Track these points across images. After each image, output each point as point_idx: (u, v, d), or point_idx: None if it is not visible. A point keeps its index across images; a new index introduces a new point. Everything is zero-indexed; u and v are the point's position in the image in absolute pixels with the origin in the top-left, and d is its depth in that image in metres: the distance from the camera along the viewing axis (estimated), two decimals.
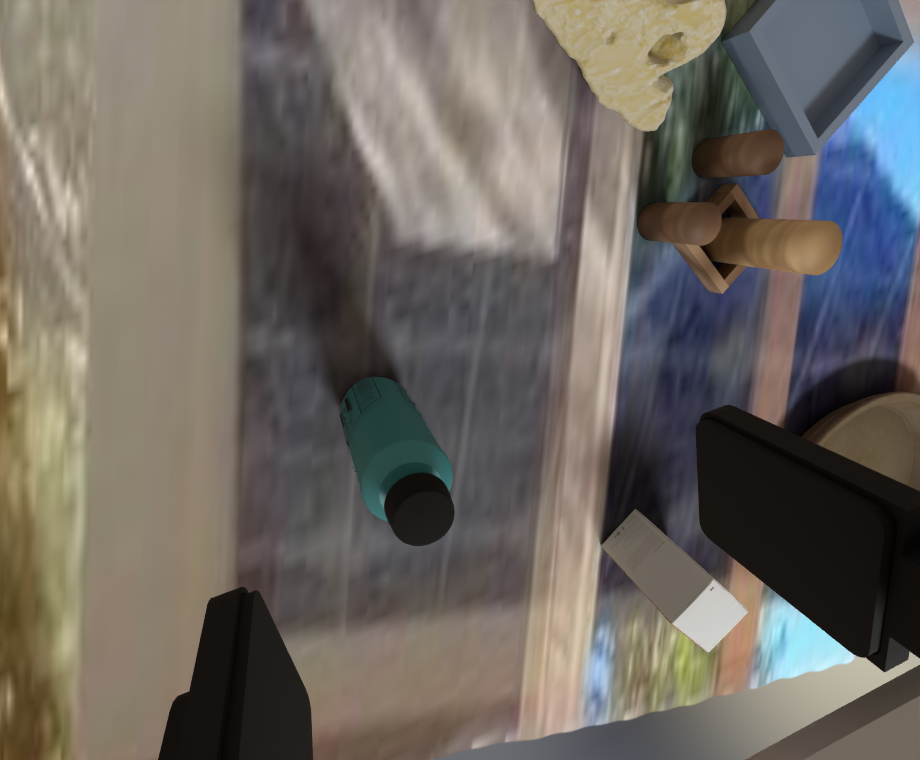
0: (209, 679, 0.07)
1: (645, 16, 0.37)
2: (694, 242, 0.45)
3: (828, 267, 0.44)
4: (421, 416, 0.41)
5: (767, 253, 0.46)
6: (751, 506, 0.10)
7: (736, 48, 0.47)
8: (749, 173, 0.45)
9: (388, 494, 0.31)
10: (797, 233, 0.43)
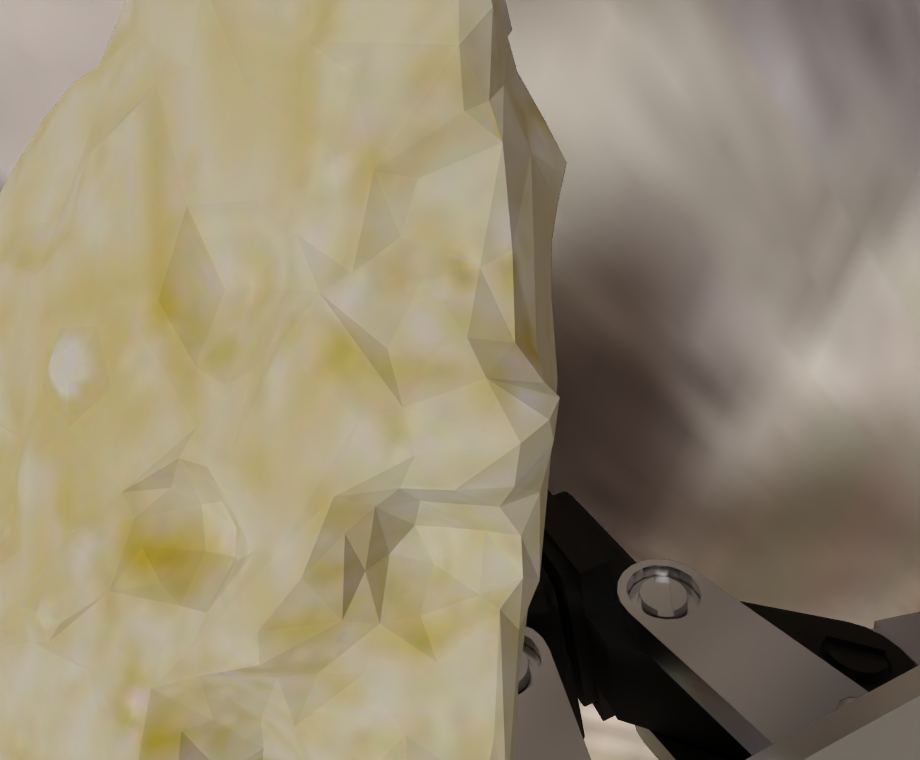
0: None
1: None
2: None
3: None
4: None
5: None
6: None
7: None
8: None
9: None
10: None
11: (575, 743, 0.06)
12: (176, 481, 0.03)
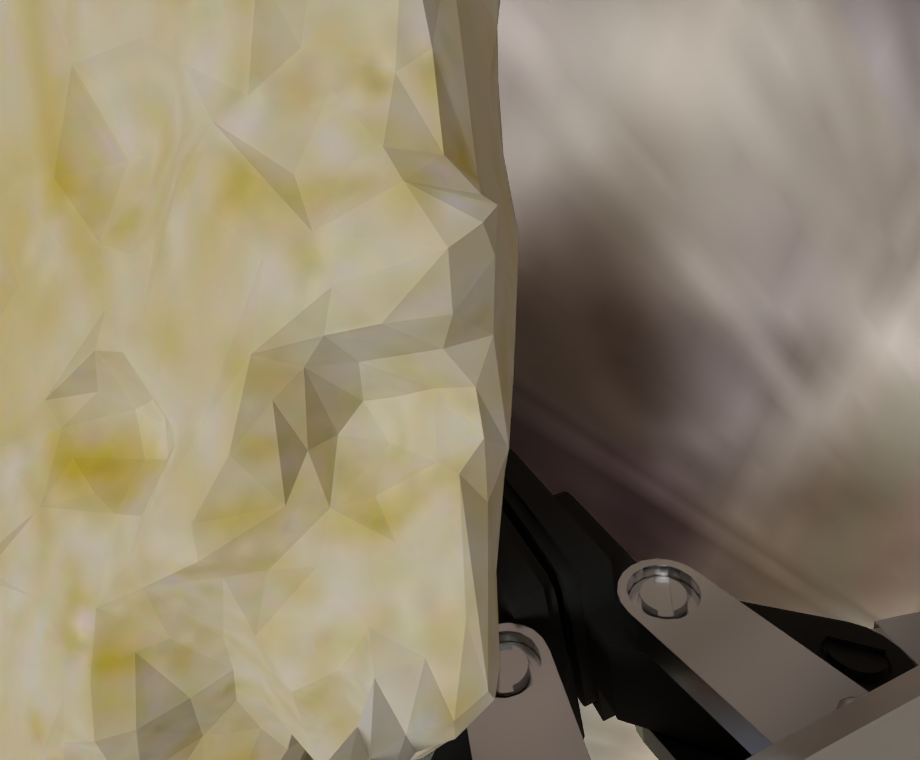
0: None
1: None
2: None
3: None
4: None
5: None
6: None
7: None
8: None
9: None
10: None
11: (575, 743, 0.06)
12: (100, 381, 0.03)
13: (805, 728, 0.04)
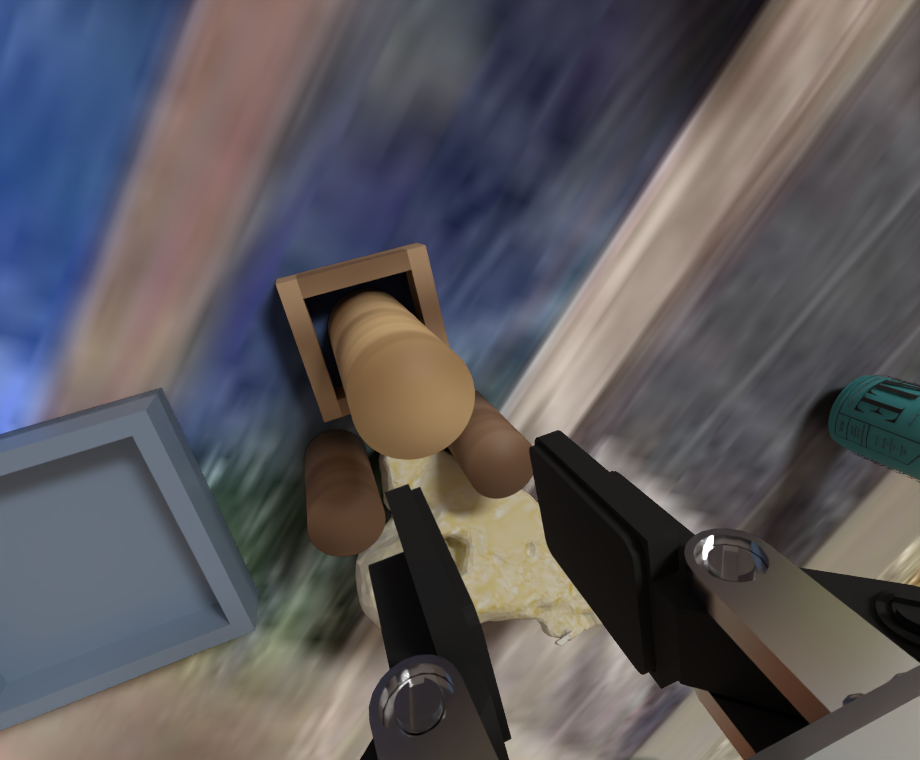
0: (415, 537, 0.09)
1: (507, 587, 0.28)
2: None
3: (409, 346, 0.17)
4: None
5: None
6: (567, 528, 0.10)
7: (248, 589, 0.30)
8: (375, 491, 0.25)
9: None
10: None
11: None
12: None
13: (805, 728, 0.04)
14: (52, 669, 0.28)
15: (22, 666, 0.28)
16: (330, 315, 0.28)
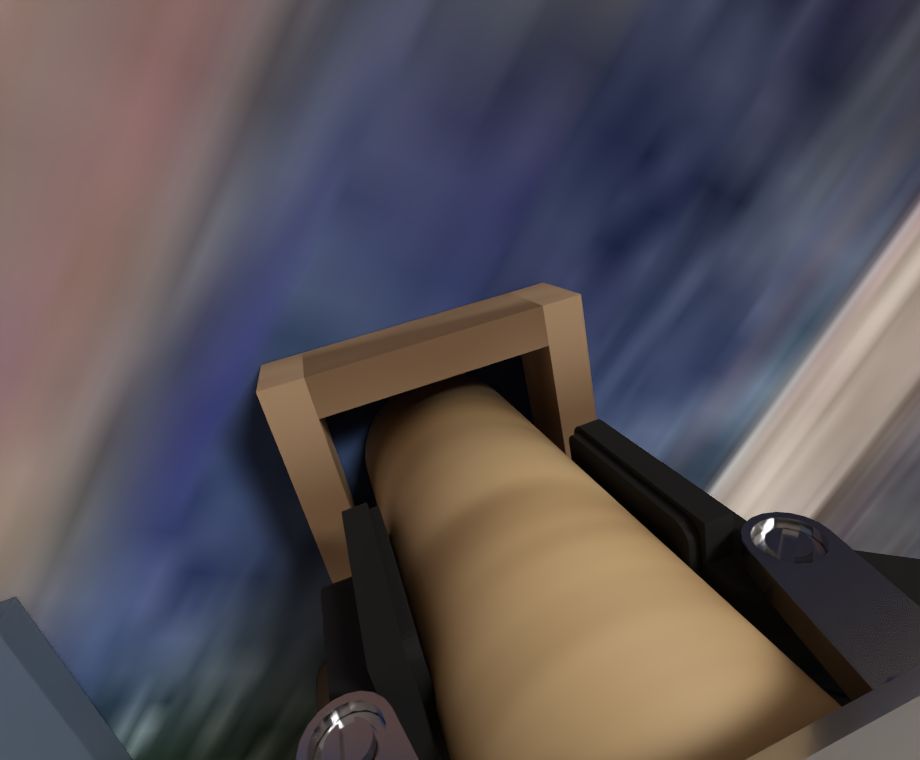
0: (365, 561, 0.08)
1: None
2: None
3: None
4: None
5: None
6: None
7: None
8: None
9: None
10: None
11: None
12: None
13: (805, 728, 0.04)
14: None
15: None
16: (371, 431, 0.14)
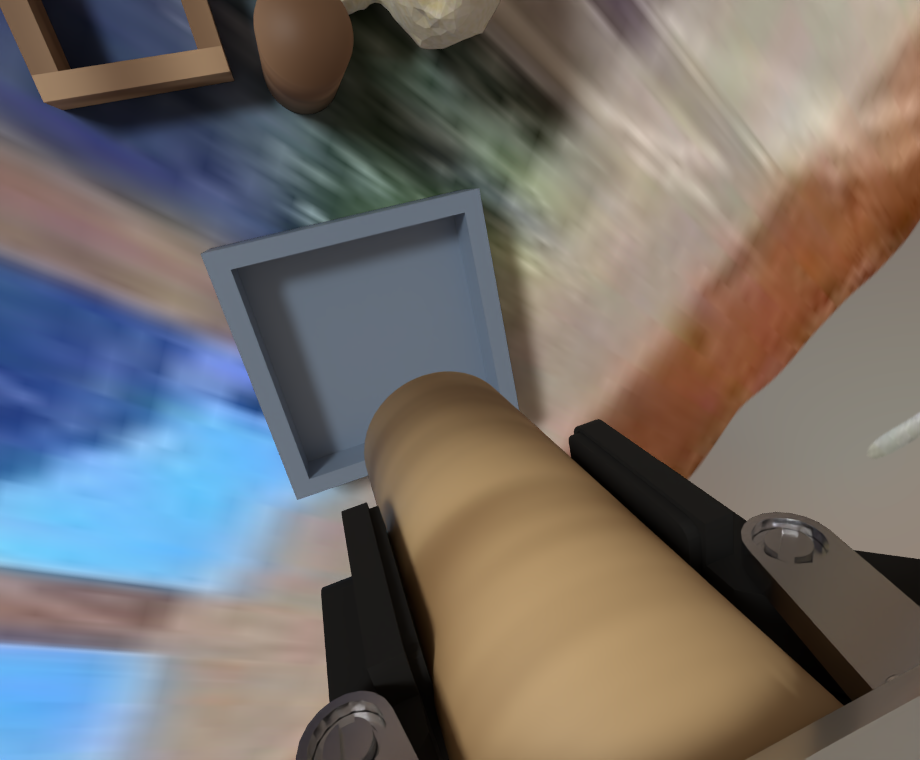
0: (365, 561, 0.08)
1: None
2: None
3: None
4: None
5: None
6: None
7: None
8: None
9: None
10: None
11: None
12: None
13: (805, 728, 0.04)
14: (486, 369, 0.32)
15: None
16: (370, 429, 0.14)
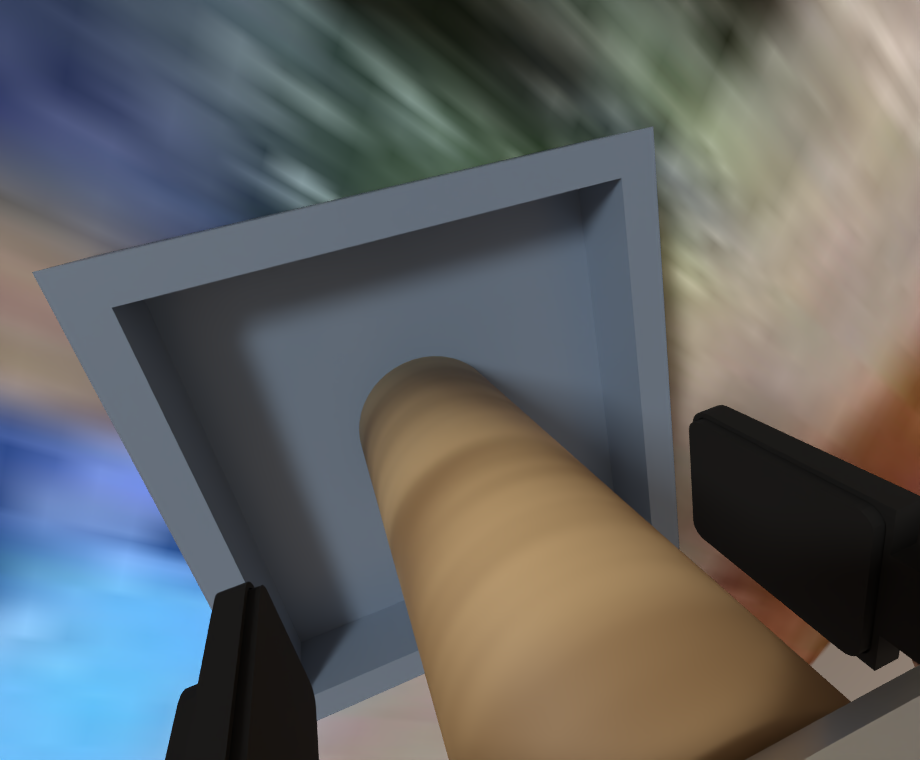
0: (217, 671, 0.07)
1: None
2: None
3: (749, 740, 0.04)
4: None
5: None
6: (743, 506, 0.10)
7: None
8: None
9: None
10: None
11: None
12: None
13: (805, 728, 0.04)
14: (615, 465, 0.18)
15: None
16: (364, 408, 0.15)
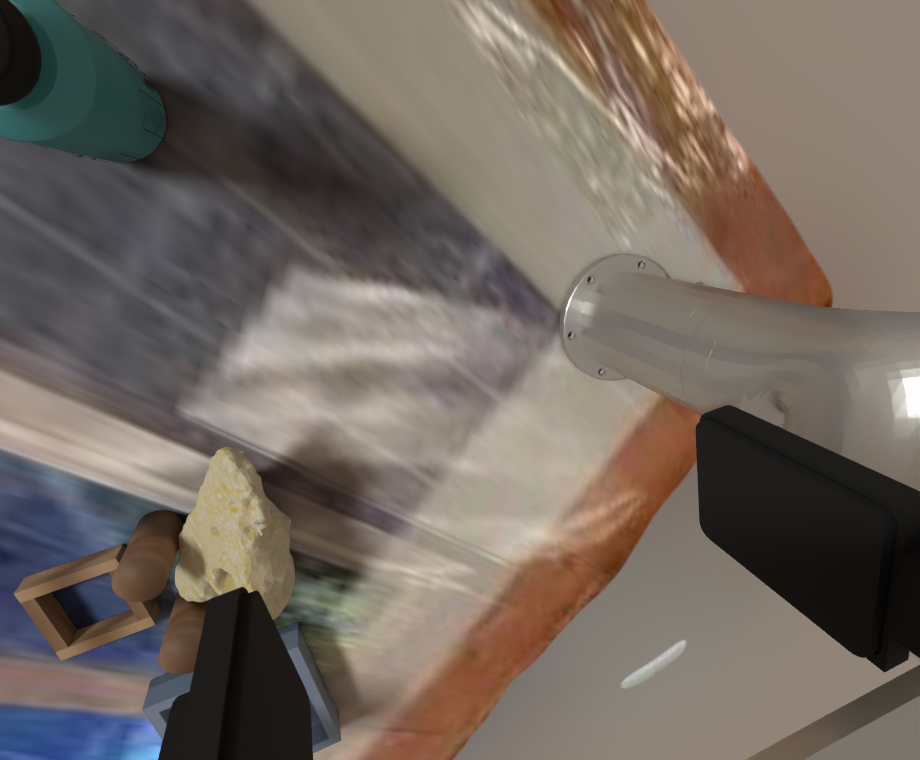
0: (209, 679, 0.07)
1: (235, 557, 0.40)
2: (122, 567, 0.38)
3: None
4: (83, 154, 0.29)
5: None
6: (751, 506, 0.10)
7: (286, 634, 0.51)
8: (168, 637, 0.42)
9: (24, 18, 0.19)
10: None
11: None
12: (232, 503, 0.39)
13: (805, 728, 0.04)
14: None
15: (318, 715, 0.55)
16: None
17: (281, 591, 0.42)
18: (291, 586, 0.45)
